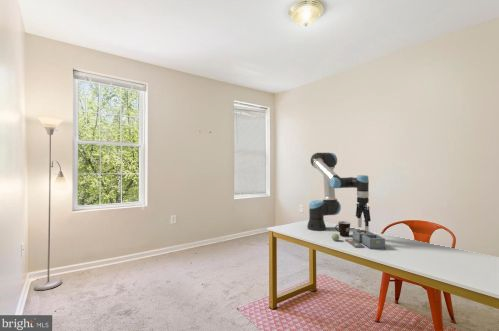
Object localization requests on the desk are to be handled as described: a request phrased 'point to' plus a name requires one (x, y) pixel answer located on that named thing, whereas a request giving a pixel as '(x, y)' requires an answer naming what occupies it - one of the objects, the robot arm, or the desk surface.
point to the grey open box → (373, 241)
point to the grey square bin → (360, 235)
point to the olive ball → (335, 237)
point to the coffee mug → (343, 228)
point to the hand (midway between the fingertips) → (362, 228)
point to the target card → (354, 243)
